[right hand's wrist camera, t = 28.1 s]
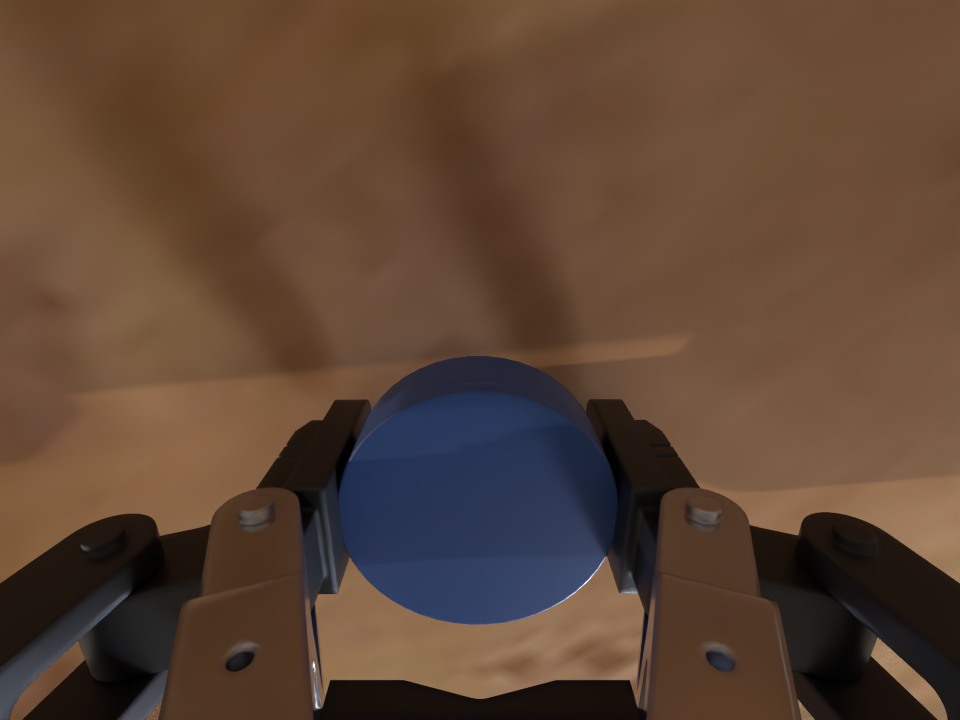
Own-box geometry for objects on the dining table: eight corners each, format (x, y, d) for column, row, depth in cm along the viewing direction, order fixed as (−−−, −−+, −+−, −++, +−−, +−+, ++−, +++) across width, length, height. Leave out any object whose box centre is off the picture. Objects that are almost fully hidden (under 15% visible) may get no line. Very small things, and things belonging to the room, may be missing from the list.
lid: (648, 456, 11) (678, 508, 9) (488, 597, 12) (490, 664, 11) (465, 301, 10) (461, 329, 8) (309, 476, 11) (280, 530, 9)
